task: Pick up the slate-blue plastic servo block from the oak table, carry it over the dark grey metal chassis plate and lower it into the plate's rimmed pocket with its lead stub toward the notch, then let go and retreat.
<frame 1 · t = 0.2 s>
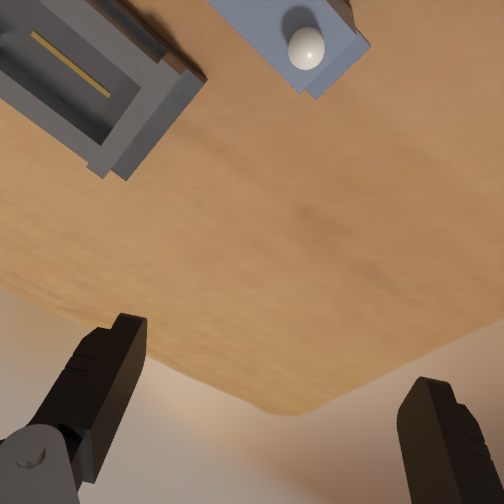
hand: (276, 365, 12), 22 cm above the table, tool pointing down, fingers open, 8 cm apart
chassis: (79, 60, 30), on the table
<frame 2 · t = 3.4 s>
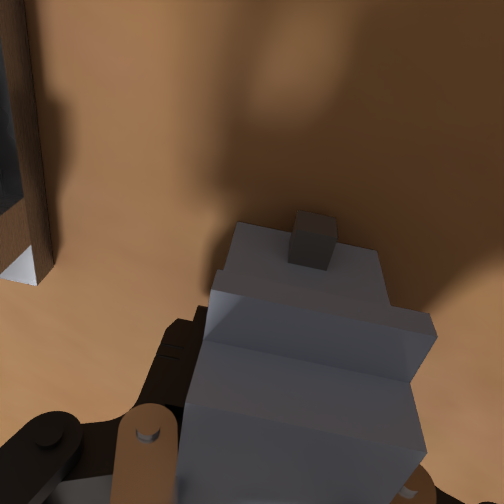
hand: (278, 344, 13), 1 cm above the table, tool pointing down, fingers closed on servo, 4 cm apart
servo: (280, 325, 14), on the table, touching gripper
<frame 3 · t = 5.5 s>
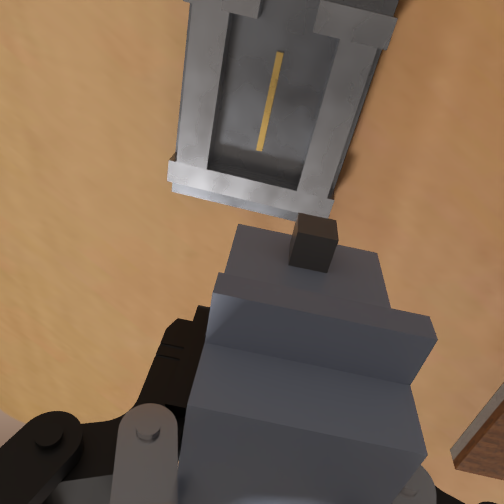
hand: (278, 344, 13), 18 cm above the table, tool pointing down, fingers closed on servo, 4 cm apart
chassis: (270, 100, 27), on the table
servo: (281, 326, 14), point 17 cm above the table, touching gripper
when the fingers open (4 cm above the table, at t = 7.9 s): servo drops 2 cm, resting on chassis.
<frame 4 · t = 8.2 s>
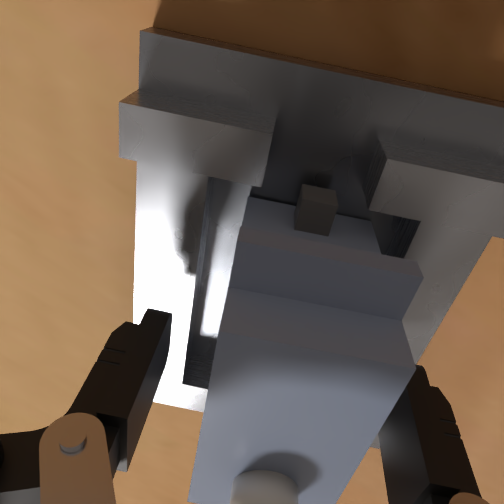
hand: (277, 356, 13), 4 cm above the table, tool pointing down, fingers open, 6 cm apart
chassis: (283, 273, 16), on the table
servo: (285, 292, 15), point 1 cm above the table, touching chassis
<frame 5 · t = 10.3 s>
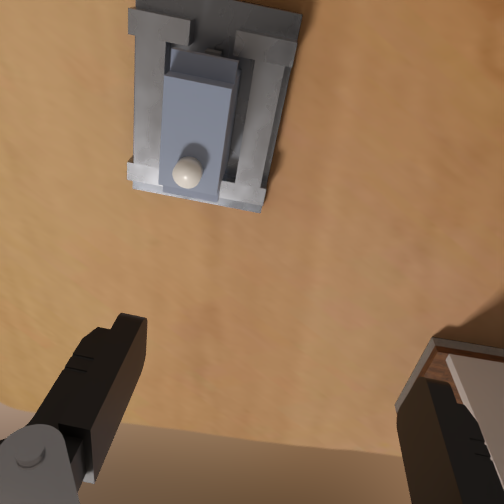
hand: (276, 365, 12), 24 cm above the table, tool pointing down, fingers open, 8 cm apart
chassis: (209, 109, 32), on the table
white alcove tower: (458, 379, 47), on the table
servo: (208, 113, 31), point 1 cm above the table, touching chassis
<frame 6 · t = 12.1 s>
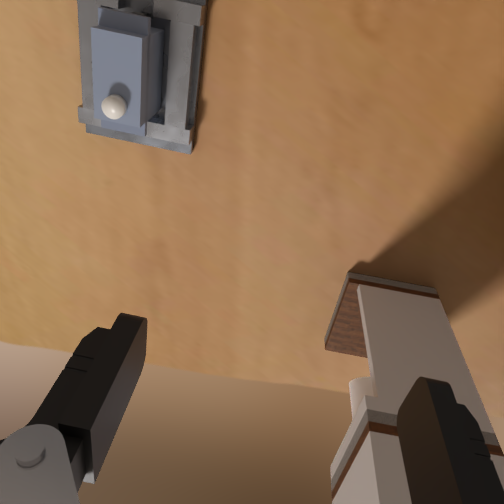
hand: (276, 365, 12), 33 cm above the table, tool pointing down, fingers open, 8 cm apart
chassis: (143, 64, 40), on the table
white alcove tower: (376, 313, 53), on the table
servo: (141, 67, 39), point 1 cm above the table, touching chassis
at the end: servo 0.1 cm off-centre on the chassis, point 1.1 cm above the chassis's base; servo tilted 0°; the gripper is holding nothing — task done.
